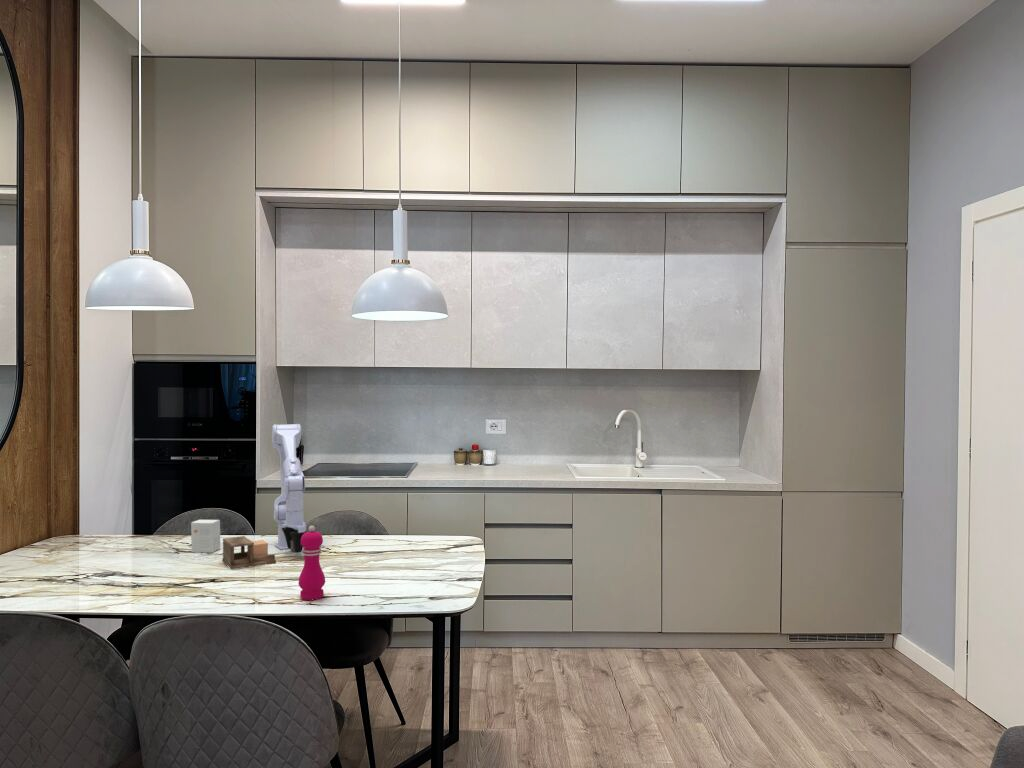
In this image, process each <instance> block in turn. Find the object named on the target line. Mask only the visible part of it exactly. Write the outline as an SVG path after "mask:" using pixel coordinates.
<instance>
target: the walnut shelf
mask: <svg viewBox="0 0 1024 768" xmlns="http://www.w3.org/2000/svg"><path fill="white" fill-rule="evenodd" d="M252 541H253V540H251V539H249V538H247V537H246V536H245V535H242V536H241V535H240V536H235V537H234V536H232V537H227V538H226V537H225V538H222V561H223V562H224V564H225V565H226V566H227V565H228V566H229V567H230V569H231V570H234V569H233V568H238V569H242V568H241V567H245V568H250V567H249V566H252V567H256V566H257V565H259V566H265V564H266V565H272V563H273V564H276V562H277V560H276V555H274V554H273V555H265V556H258V557H254V555H253V545H254V542H252ZM247 545H250V558H249V557H247V551H245V546H246V547H247ZM237 547H238V548H239V547H240V552H235V548H237ZM223 562H222V563H223ZM228 566H227V567H228ZM229 567H228V568H229ZM257 567H258V566H257Z"/></svg>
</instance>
